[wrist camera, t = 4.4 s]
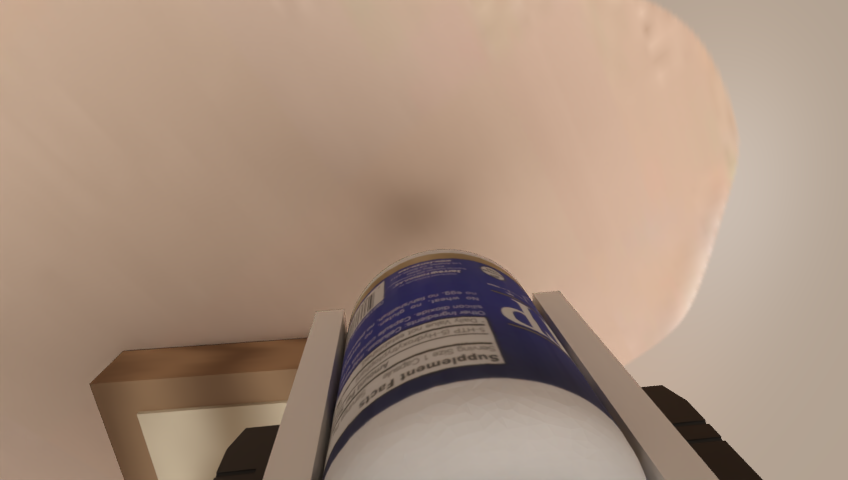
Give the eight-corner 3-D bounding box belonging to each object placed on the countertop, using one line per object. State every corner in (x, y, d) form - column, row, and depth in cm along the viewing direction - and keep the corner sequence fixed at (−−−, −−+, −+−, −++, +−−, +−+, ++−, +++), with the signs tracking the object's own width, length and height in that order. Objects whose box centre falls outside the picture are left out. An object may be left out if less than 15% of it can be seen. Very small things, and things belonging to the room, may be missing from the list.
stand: (171, 500, 29) (146, 547, 26) (123, 351, 25) (86, 386, 22) (347, 484, 30) (342, 528, 27) (327, 336, 26) (319, 369, 23)
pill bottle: (556, 357, 13) (861, 842, 5) (404, 429, 13) (431, 992, 5) (484, 208, 11) (765, 560, 3) (311, 298, 12) (121, 826, 3)
